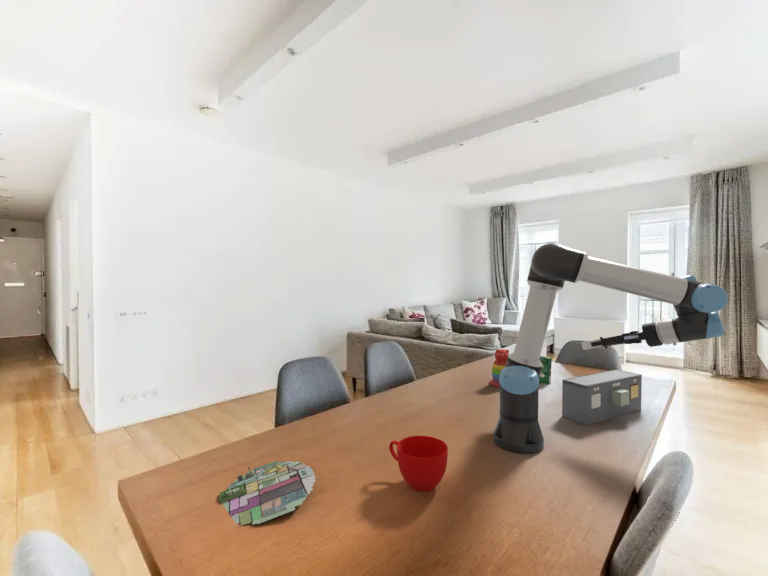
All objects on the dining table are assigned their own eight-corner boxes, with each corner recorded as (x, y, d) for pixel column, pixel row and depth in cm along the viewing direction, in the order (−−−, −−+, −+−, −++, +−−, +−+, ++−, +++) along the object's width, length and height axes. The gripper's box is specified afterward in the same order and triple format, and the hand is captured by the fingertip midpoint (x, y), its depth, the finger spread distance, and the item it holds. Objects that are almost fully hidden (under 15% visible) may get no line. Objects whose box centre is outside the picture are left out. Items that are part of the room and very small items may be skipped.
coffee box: (551, 383, 188) (552, 357, 187) (549, 384, 186) (549, 358, 185) (535, 380, 194) (536, 354, 193) (533, 381, 192) (533, 355, 191)
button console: (641, 409, 150) (642, 374, 150) (587, 425, 135) (588, 386, 134) (615, 402, 159) (616, 369, 159) (562, 416, 144) (562, 379, 143)
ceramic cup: (404, 462, 108) (404, 427, 108) (457, 482, 97) (457, 444, 97) (374, 481, 98) (374, 443, 98) (430, 506, 87) (430, 463, 87)
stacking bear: (510, 382, 189) (510, 347, 189) (515, 388, 179) (515, 351, 179) (488, 382, 190) (488, 347, 190) (492, 388, 180) (492, 351, 180)
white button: (600, 406, 138) (600, 393, 138) (591, 408, 136) (592, 395, 135) (585, 401, 143) (585, 388, 143) (576, 404, 141) (576, 390, 141)
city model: (199, 502, 93) (195, 479, 92) (283, 458, 109) (281, 438, 108) (244, 557, 75) (240, 529, 75) (337, 495, 92) (334, 472, 91)
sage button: (629, 404, 141) (629, 390, 140) (621, 406, 138) (621, 392, 138) (613, 399, 146) (613, 386, 146) (605, 401, 144) (605, 388, 143)
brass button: (638, 396, 149) (638, 384, 149) (630, 398, 147) (630, 386, 147) (622, 392, 154) (622, 380, 154) (615, 394, 152) (615, 382, 152)
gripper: (659, 345, 115) (579, 356, 131) (667, 345, 124) (591, 356, 140) (651, 320, 117) (573, 335, 133) (660, 322, 126) (586, 336, 142)
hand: (583, 346), depth 136 cm, fingers closed
